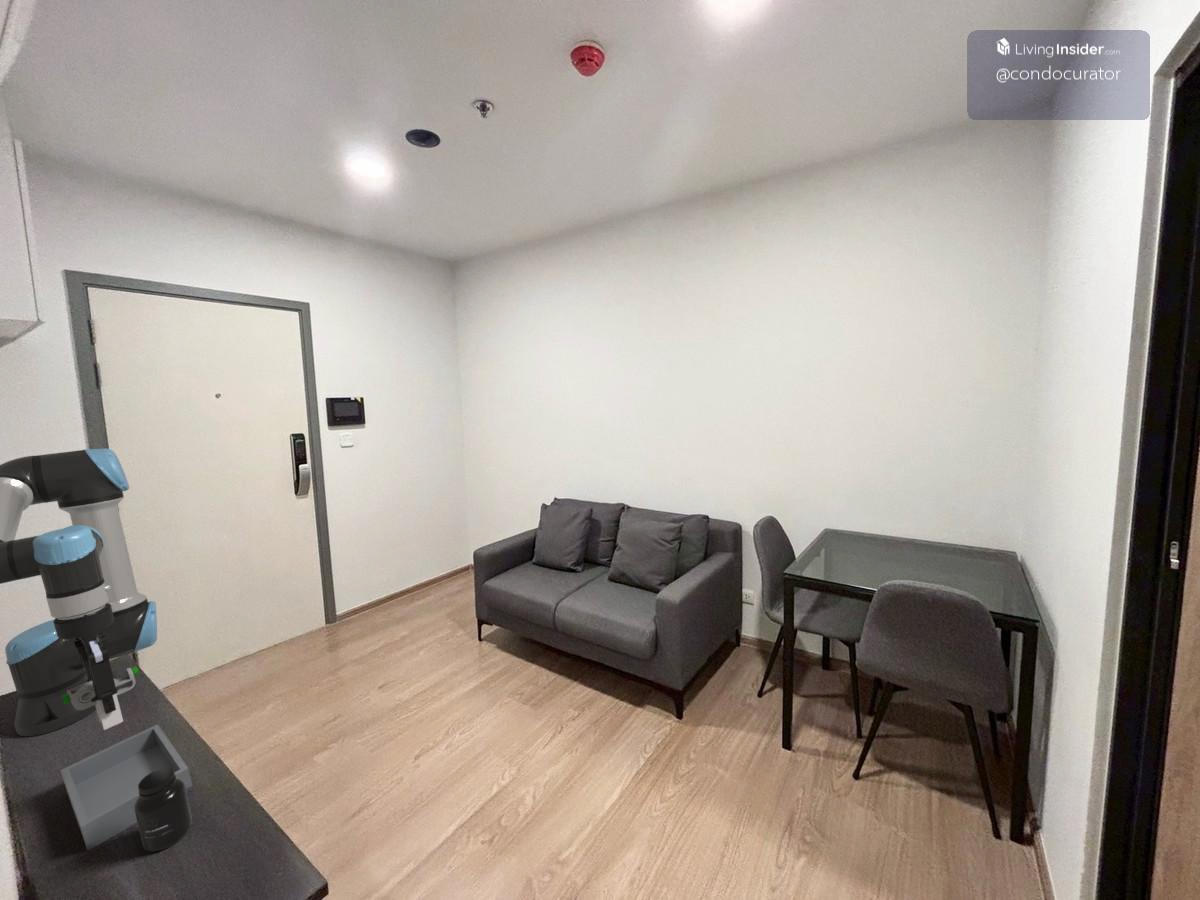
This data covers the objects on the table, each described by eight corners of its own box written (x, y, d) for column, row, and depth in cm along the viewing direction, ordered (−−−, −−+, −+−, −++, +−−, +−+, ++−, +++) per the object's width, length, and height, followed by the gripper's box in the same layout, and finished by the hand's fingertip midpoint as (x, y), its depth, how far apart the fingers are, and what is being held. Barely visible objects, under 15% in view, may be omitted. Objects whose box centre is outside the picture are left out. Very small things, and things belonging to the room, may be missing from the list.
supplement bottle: (152, 861, 84) (136, 801, 82) (137, 842, 88) (122, 784, 86) (200, 828, 90) (186, 771, 88) (185, 811, 94) (171, 756, 91)
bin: (66, 791, 100) (60, 770, 99) (162, 743, 111) (157, 724, 110) (87, 851, 87) (80, 827, 86) (193, 789, 98) (188, 768, 97)
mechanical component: (149, 712, 100) (138, 667, 98) (77, 746, 91) (63, 698, 89) (144, 707, 101) (133, 663, 99) (73, 739, 93) (60, 692, 91)
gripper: (119, 612, 90) (147, 725, 94) (101, 592, 99) (127, 695, 104) (59, 632, 84) (92, 751, 88) (46, 608, 93) (76, 716, 98)
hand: (111, 721), depth 96 cm, fingers closed on mechanical component, 3 cm apart
